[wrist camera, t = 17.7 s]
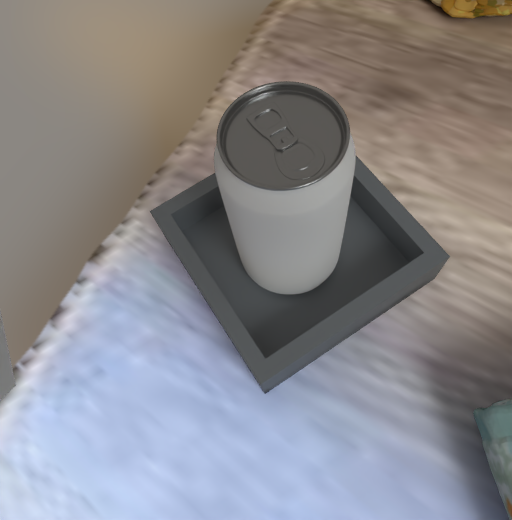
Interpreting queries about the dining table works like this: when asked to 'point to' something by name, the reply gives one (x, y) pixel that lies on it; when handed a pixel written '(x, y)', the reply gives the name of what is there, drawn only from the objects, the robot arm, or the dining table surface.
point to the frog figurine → (475, 7)
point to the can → (286, 182)
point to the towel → (498, 445)
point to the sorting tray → (316, 300)
